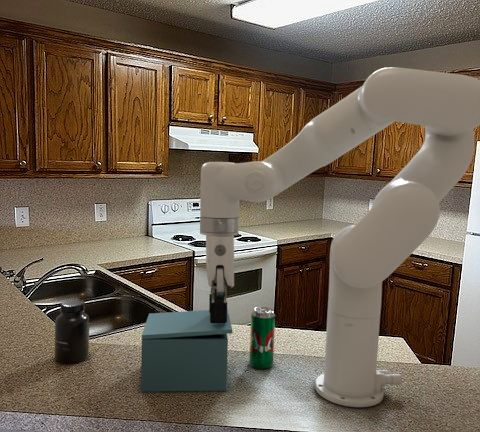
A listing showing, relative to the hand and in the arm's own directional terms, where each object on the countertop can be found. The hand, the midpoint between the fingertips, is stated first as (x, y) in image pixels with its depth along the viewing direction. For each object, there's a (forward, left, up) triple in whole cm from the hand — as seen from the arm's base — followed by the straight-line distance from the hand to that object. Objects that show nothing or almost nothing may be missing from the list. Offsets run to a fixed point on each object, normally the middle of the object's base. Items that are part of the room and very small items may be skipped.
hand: (217, 317), depth 89 cm
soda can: (-10, -5, -12) cm, 16 cm away
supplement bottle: (+30, -9, -12) cm, 34 cm away
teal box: (+6, 0, -12) cm, 13 cm away
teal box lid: (+6, 0, -2) cm, 6 cm away
